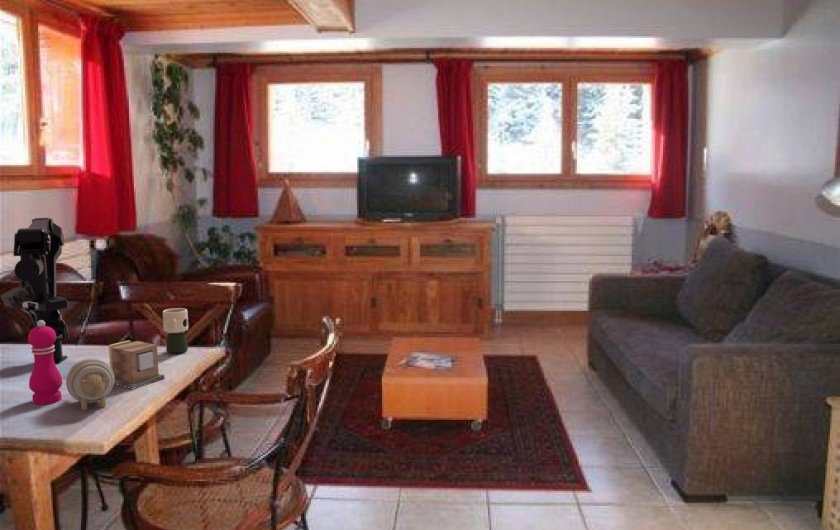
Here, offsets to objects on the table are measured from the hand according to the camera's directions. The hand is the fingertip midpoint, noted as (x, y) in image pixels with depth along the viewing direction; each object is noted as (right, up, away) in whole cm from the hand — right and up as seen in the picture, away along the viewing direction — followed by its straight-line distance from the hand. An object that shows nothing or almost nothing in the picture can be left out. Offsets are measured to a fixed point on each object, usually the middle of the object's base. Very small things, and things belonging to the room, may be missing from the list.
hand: (39, 332), depth 196 cm
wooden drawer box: (+24, -12, -1) cm, 27 cm away
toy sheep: (+24, -15, -20) cm, 35 cm away
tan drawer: (+26, -10, -3) cm, 28 cm away
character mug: (+28, -8, +26) cm, 39 cm away
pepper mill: (+11, -15, -18) cm, 26 cm away
